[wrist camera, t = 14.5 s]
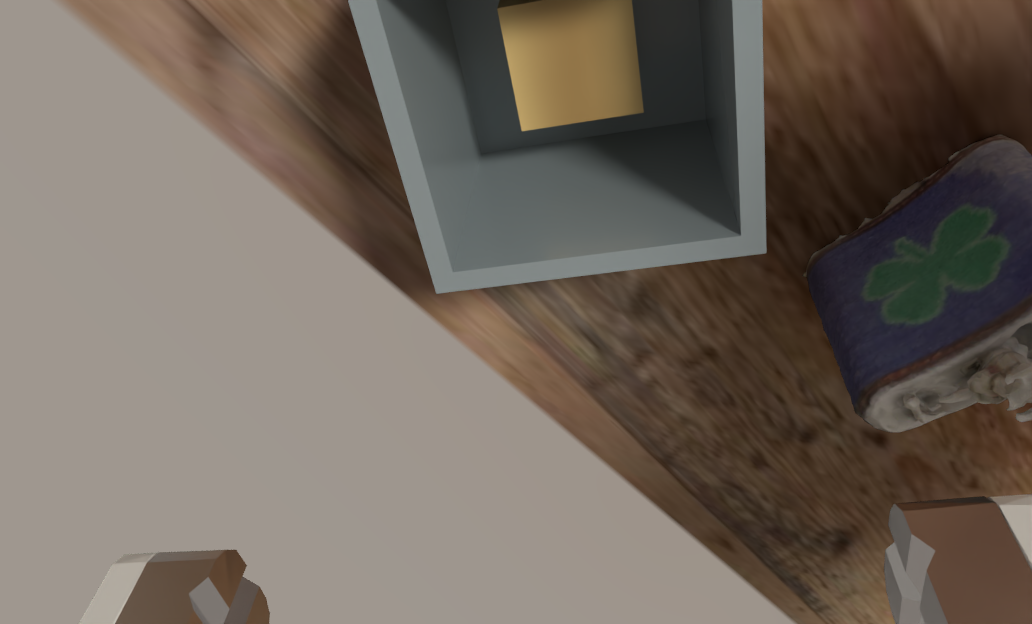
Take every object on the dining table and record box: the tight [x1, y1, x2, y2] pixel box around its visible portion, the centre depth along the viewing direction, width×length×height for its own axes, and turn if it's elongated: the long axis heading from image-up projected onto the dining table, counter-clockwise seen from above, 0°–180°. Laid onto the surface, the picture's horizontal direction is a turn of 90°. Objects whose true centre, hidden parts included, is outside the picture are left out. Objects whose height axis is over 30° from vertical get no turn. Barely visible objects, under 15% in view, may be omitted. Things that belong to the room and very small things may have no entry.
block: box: [497, 0, 644, 131], centre depth 27 cm, size 4×4×4 cm
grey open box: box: [348, 0, 767, 294], centre depth 25 cm, size 10×10×9 cm
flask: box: [802, 135, 1032, 433], centre depth 28 cm, size 9×3×11 cm, turn 137°
